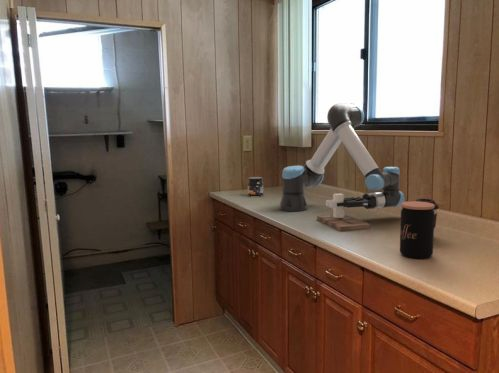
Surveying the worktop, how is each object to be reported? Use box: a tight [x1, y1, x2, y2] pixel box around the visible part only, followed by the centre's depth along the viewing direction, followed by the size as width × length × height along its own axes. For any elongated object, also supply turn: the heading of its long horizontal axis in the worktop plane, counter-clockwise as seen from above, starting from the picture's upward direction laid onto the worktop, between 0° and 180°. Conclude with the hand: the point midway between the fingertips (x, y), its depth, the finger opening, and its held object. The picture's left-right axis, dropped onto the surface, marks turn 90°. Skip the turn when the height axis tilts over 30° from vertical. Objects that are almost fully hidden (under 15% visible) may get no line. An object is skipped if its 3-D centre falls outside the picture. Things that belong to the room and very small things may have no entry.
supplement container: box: [247, 176, 264, 197], centre depth 274 cm, size 10×10×12 cm
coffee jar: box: [399, 200, 435, 260], centre depth 142 cm, size 11×11×18 cm
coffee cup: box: [415, 198, 440, 238], centre depth 165 cm, size 10×10×15 cm
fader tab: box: [332, 193, 345, 218], centre depth 193 cm, size 3×4×11 cm
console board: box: [316, 213, 371, 232], centre depth 190 cm, size 24×14×2 cm, turn 15°
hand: (328, 204), depth 191 cm, fingers closed on fader tab, 3 cm apart
